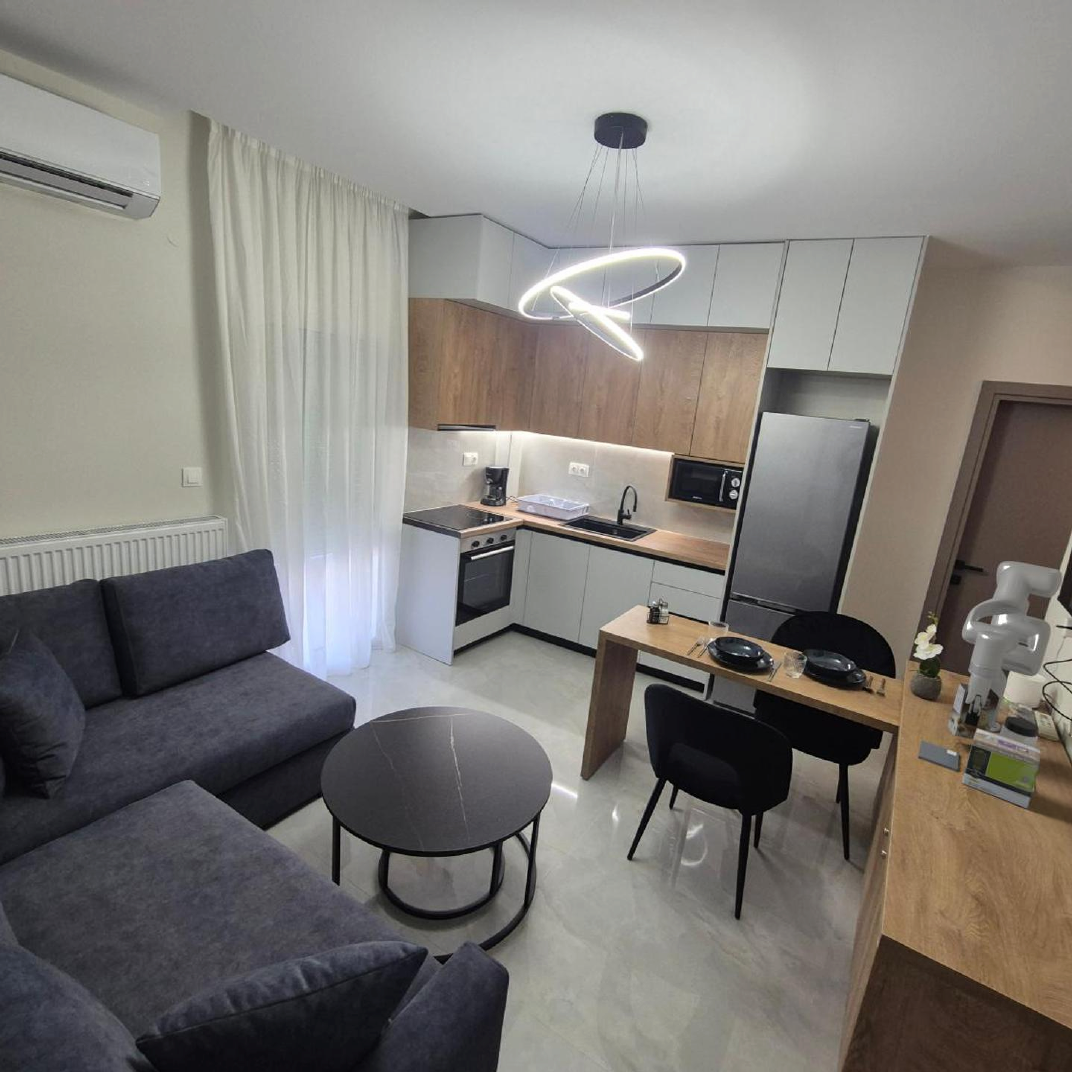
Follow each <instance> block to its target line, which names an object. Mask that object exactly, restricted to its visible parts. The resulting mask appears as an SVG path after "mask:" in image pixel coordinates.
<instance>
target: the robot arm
mask: <svg viewBox="0 0 1072 1072" xmlns="http://www.w3.org/2000/svg"><path fill="white" fill-rule="evenodd" d="M1062 582H1063V574H1062V572H1061V570H1059V569H1056V568H1051V567H1046V566H1041V565H1036V564H1032V563H1026V562H1021V561H1020V562H1019V561H1012V560H1010V561H1007V560H1006V561H1002V562H1000V563H999V564H998V567H997V570H996V589H995V591H994V593H993V596H992V598H990V599H987V600H985V601H982V602H981V603H978V604H976V605H975V606H974V607H973V608H971V610H970V611H969V613H968V614H967V617H966V619H965V621H964V624H963V627H962V630H961V637H962V639H963V640H964V641H965V642H967V643H969V644H973V645H974V647H973V651H972V654H971V659H970V661H969V662H970V663H969V667H968V672H969V673H970V677H969V680H968V683H967V684H968V695H967V698H966V701H965V703H966V704H967V703H968V704H970V703H971V704H970V707H969V712H967V715H966V719H965V724H968V725H971V726H974V727H977V725H978V721H979V717H980V710H981V708H984V706H985V703H986V700H987V697H988V694H989V690H990V689H992V690H993V692H995V693H996V694H997V695H998V697H999V702H998V705H997V708H996V712H995V715H994V718H993V722H992V725H991V729H990V732H991V733H994V732H995V733H996V732H998V731H999V732H1000V731H1001V728H1002V725H1001V724H1000V723H999V722H998V721H997V720H998V717H999V712H1000V709H1001V706H1002V703H1003V699H1004V695H1005V691H1006V688H1007V684H1008V680H1007V677H1006V675H1005V673H1004V671H1003V670H1006V671H1009V672H1013V673H1016V674H1018V675H1019V674H1020V675H1023V676H1027V677H1033V676H1037V674H1038V673H1040V670H1041V668H1042V665H1043V661H1044V657H1045V654H1046V651H1047V648H1048V644H1049V641H1050V638H1051V634H1052V633H1051V630H1052V629H1051V625H1050V623H1048V621H1046V620H1044V619H1041V618H1037V617H1035V616H1029V615H1027V613H1028V610H1029V607H1030V601H1029V600H1028V598H1029V596H1030V595H1035V596H1039V597H1044V598H1052V597H1054V596H1055V595H1056V593H1057V592H1058V591H1059V590H1060V587H1061V586H1062ZM991 616H992V618H991V622H990V624H989V623H986V622H981V621H979V620H980V619H982V618H985V617H991ZM1019 643H1021V644H1019ZM1022 644H1025V645H1022ZM1026 645H1027V646H1026ZM975 696H976V697H975ZM973 700H975V703H974V704H972V701H973ZM980 702H981V703H980ZM979 704H980V706H979ZM972 706H974V707H973V708H972Z"/></svg>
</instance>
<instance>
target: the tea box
mask: <svg viewBox="0 0 1072 1072" xmlns="http://www.w3.org/2000/svg"><path fill="white" fill-rule="evenodd" d="M1041 753H1042V748H1039V747H1036V746H1035V747H1033V746H1030V745H1027V744H1024V743H1021V742H1018V741H1015V740H1012V739H1009V738H1006V737H1003V736H1000V734H997V733H994V732H991V731H990V732H988V731H985V730H982V729H979V728H977V729H976V732H975V735H974V738H973V740H972V742H971V746H970V749H969V754H968V758H967V761H966V765H965V768H964V775H963V777H962V784H963V785H967V786H969V787H971V788H974V789H976V790H979V791H981V792H984V793H987V794H989V795H992V796H995V797H997V798H1000V799H1001V800H1004V801H1007V802H1009V803H1012V804H1013V805H1017V806H1020V807H1022V808H1025V809H1028V808H1029V804H1030V803H1031V802H1030V801H1031V798H1032V794H1033V793H1032V791H1033V787H1035V784H1036V780H1037V776H1038V772H1039V769H1040V764H1041Z"/></svg>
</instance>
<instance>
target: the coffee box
mask: <svg viewBox="0 0 1072 1072" xmlns="http://www.w3.org/2000/svg"><path fill="white" fill-rule="evenodd" d="M967 695H968V683H967V684H966V683H961V682H959V685H958V688H957V692H956V695H955V699H954V702H953V706H952V709H951V713H950V717H949V720H948V724H947V727H948V729H949V731H950V732H951V733H952V735H953V737H954V736H955V737H959V738H964V739H968V740H972V741H973V738H974V735H975V732H976V729H977V728H979V729H982V730H985V731H988V732H991V731H990V729H991V725H992V722H993V718H994V715H995V712H996V708H997V705H998V702H999V697H998V695H997V694H996V693H995V692H993V690H992V689H990V690H989V694H988V697H987V700H986V703H985V706H984V708H981V710H980V717H979V721H978V725H977V727H974V726H971V725H968V724H965V719H966V715H967V712H969V707H970V704H971V703H970V704H968V703H967V704H966V703H965V701H966V698H967ZM975 697H976V696H975ZM974 703H975V700H973V701H972V704H974ZM980 703H981V702H980ZM979 706H980V704H979ZM973 707H974V706H972V708H973Z"/></svg>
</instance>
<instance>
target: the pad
mask: <svg viewBox="0 0 1072 1072" xmlns="http://www.w3.org/2000/svg"><path fill="white" fill-rule="evenodd" d="M918 752H919V753H918V756H917V757H918V759H920V760H923V761H924V762H925V761H926V762H928V763H931V764H935V765H937V766H939V767H942V768H945V769H948V770H950V771H954V772H959V771H958V770H959V755H960V754H959V752H956V751H955V750H954V751H953V750H952V749H948V748H945V747H943V746H939V745H936V744H933V743H931V742H928V741H925V740H921V741H920V747H919V751H918Z"/></svg>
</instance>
